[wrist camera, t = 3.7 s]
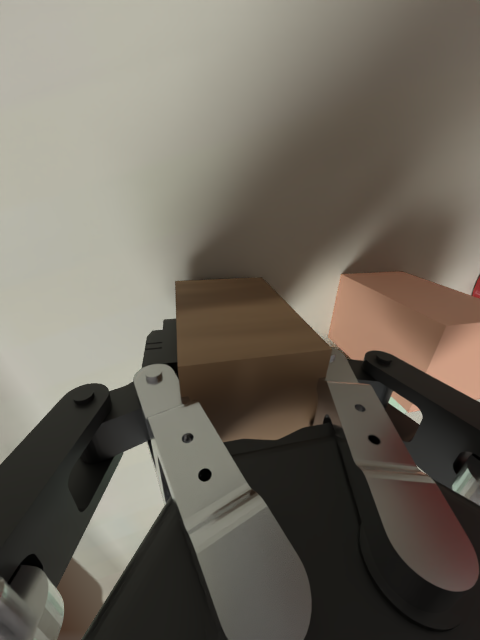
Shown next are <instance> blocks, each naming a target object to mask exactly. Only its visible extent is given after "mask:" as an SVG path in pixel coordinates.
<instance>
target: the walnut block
mask: <svg viewBox="0 0 480 640" xmlns="http://www.w3.org/2000/svg"><path fill="white" fill-rule="evenodd" d="M175 290H176V325H177V361H178V375H179V385H180V395H181V397H186V396H188V397H189V399H190V400H194V399H196V400H197V401H198V402H199V403H200V405H201V407H202V408H203V410H204V412H205V413H206V415H207V417H208V418H209V420H210V422H211V423H212V425H213V427H214V428H215V430H216V432H217V433H218V435H219V437H220V438H221V440H222V442H227V441H233V440H238V439H262V440H278V439H280V438H282V437H284V436H286V435H289V434H291V433H293V432H295V431H297V430H299V429H301V428H304V427H308V425H309V422H311V421H314V419H315V415H316V411H317V406H318V394H317V390H316V388H317V383H318V379H319V378H322V377H326V375H327V370H328V366H329V362H330V357H331V353H332V348H331V347H330V346H329V345H328V344H327V343H326V342H325V341H324V340H323V339H322V338H321V337H320V336H319V335H318V334H317V333H316V332H315V331H314V330H313V329H312V328H311V327H310V326H309V325H308V324H307V323H306V322H305V321H304V320H303V319H302V318H301V317H300V316H299V315H298V314H297V313H296V312H295V311H294V310H293V309H292V308H291V307H290V306H289V305H288V304H287V302H286V301H285V300H284V299H283V298H282V297H281V296H280V295H279V294H278V293H277V292H276V291H275V290H274V289H273V288H272V287H271V286H270V285H269V284H268V283H267V282H266V281H265V280H264V279H263V278H262V277H258V278H235V279H212V280H189V281H175Z"/></svg>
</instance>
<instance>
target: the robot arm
mask: <svg viewBox="0 0 480 640" xmlns="http://www.w3.org/2000/svg"><path fill="white" fill-rule="evenodd" d="M331 348H332V353H331V357H330V362H329V366H328V370H327V375H326V377H322V378H319V379H318V383H317V388H316V390H317V394H318V406H317V411H316V415H315V419H314V421H311V422H309V425H308V427H304V428H301V429H299V430H297V431H295V432H293V433H291V434H289V435H286V436H284V437H282V438H280V439H278V440H262V439H238V440H233V441H227V442H222V440H221V438H220V437H219V435H218V433H217V432H216V430H215V428H214V427H213V425H212V423H211V422H210V420H209V418H208V417H207V415H206V413H205V412H204V410H203V408H202V407H201V405H200V403H199V402H198V401H197V400H196V399H194V400H190V399H189V397H188V396H186V397H181V395H180V385H179V375H178V361H177V325H176V319H165V320H164V321H163V330H155V331H152V332H151V333H150V334H149V335H148V336H147V340H146V346H145V352H144V358H143V364H142V369H140V370H139V371H138V372H137V373H136V374H135V375H134V378H133V382H131V383H130V384H128V385H126V386H124V387H121V388H118V389H115V390H112V391H109V390H108V388H107V387H106V386H105V385H102V384H97V383H92V384H86V385H82V386H79V387H77V388H75V389H73V390H71V391H70V392H68V393H67V394H66V395H65V396H64V397H63V398H62V399H61V400H60V401H59V402H58V403H57V404H56V405H55V406H54V407H53V408H52V409H51V411H50V412H49V413H48V414H47V415H46V416H45V417H44V418H43V419H42V420H41V421H40V422H39V424H38V425H37V426H36V427H35V428H34V429H33V430H32V431H31V432H30V433H29V434H28V435H27V436H26V438H25V439H24V440H23V441H22V442H21V443H20V444H19V445H18V446H17V447H16V448H15V449H14V451H13V452H12V453H11V454H10V455H9V456H8V457H7V458H6V459H5V460H4V461H3V462H2V463H1V465H0V640H57V638H58V635H59V632H60V629H61V626H62V621H63V615H64V604H63V600H62V597H61V595H60V593H59V592H58V590H57V589H56V588H57V586H58V584H59V582H60V580H61V578H62V576H63V574H64V572H65V570H66V568H67V566H68V564H69V562H70V560H71V558H72V556H73V554H74V552H75V550H76V548H77V546H78V544H79V542H80V540H81V538H82V536H83V534H84V532H85V530H86V528H87V526H88V524H89V522H90V520H91V518H92V516H93V514H94V512H95V510H96V508H97V506H98V504H99V502H100V500H101V498H102V496H103V494H104V492H105V490H106V488H107V486H108V484H109V482H110V480H111V478H112V476H113V473H114V471H115V469H116V467H117V465H118V463H119V461H120V459H121V457H122V455H123V452H124V451H126V450H129V449H131V448H133V447H135V446H137V445H139V444H142V443H144V442H147V445H148V449H149V452H150V455H151V459H152V462H153V465H154V468H155V472H156V475H157V479H158V482H159V486H160V490H161V494H162V498H163V502H164V505H165V506H164V508H163V509H162V511H161V513H160V514H159V516H158V517H157V519H156V521H155V522H154V524H153V525H152V527H151V529H150V530H149V532H148V533H147V535H146V537H145V538H144V540H143V541H142V543H141V545H140V546H139V548H138V549H137V551H136V553H135V554H134V556H133V557H132V559H131V561H130V562H129V564H128V566H127V567H126V569H125V570H124V572H123V574H122V575H121V577H120V578H119V580H118V582H117V583H116V585H115V586H114V588H113V590H112V591H111V593H110V594H109V596H108V598H107V599H106V601H105V602H104V604H103V606H102V607H101V609H100V610H99V612H98V614H97V615H96V617H95V618H94V620H93V622H92V623H91V625H90V627H89V629H88V630H87V631H86V633H85V635H84V636H83V638H82V639H81V640H480V402H478V401H476V400H474V399H473V398H471V397H469V396H467V395H465V394H463V393H462V392H460V391H458V390H456V389H454V388H452V387H451V386H449V385H447V384H445V383H443V382H441V381H440V380H438V379H436V378H434V377H432V376H430V375H428V374H427V373H425V372H423V371H421V370H419V369H417V368H416V367H414V366H412V365H410V364H408V363H406V362H405V361H403V360H401V359H399V358H397V357H395V356H394V355H391V354H389V353H386V352H383V351H376V350H373V351H368V352H367V353H366V354H365V356H364V360H352V359H346V357H345V355H344V354H343V353H342V352H341V351H339V350H338V349H336V348H333V347H331ZM393 391H394V392H396V393H397V394H399V395H400V396H402V397H403V398H405V399H406V400H408V401H409V402H411V403H412V404H414V405H415V406H417V407H418V408H419V409H420V411H421V412H422V415H423V419H422V421H421V423H420V425H419V424H418V423H416V422H415V421H414V420H412V419H411V418H409V417H408V416H406V415H405V414H404V413H402V412H401V411H399V410H398V409H396V408H395V407H394V406H392V405H391V404H389V403H388V402H389V400H390V397H391V395H392V392H393ZM416 465H417V466H418V467H419V468H420V469H421V470H423V471H424V472H425V473H426V474H425V473H423V472H421V471H420V470H419V469H418V468H417V466H416ZM428 475H429V476H428Z"/></svg>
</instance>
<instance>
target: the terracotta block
mask: <svg viewBox="0 0 480 640" xmlns="http://www.w3.org/2000/svg"><path fill="white" fill-rule="evenodd" d="M328 338H330V339H331V340H332V341H333V342H334V343H335V344H336V345H337V346H338V347H339V348H340V349H341V350H342V351H343V352H344V353H345V354H347V355H348V356H349V357H350V358H351V359H352V360H364V356H365V354H366V353H367V352H368V351H373V350H376V351H383V352H386V353H389V354H391V355H394V356H395V357H397V358H399V359H401V360H403V361H405V362H406V363H408V364H410V365H412V366H414V367H416V368H417V369H419V370H421V371H423V372H425V373H427V374H428V375H430V376H432V377H434V378H436V379H438V380H440V381H441V382H443V383H445V384H447V385H449V386H451V387H452V388H454V389H456V390H458V391H460V392H462V393H463V394H465V395H467V396H469V397H471V398H473V399H474V400H477V399H480V299H479V298H476V297H474V296H471V295H468V294H465V293H462V292H459V291H456V290H454V289H451V288H448V287H445V286H442V285H439V284H436V283H434V282H431V281H428V280H425V279H422V278H419V277H417V276H414V275H411V274H408V273H405V272H402V271H398V272H376V273H353V274H341V277H340V282H339V286H338V291H337V296H336V301H335V305H334V310H333V315H332V320H331V325H330V329H329V334H328ZM391 397H392V398H393V399H394V400H396V401H397V402H398V403H399V404H400V405H401V406H402V407H403V408H404V409H405V410H406V411H407V412H408V413H409V412H414V411H419V410H420V409H419V408H418V407H417V406H415V405H414V404H412V403H411V402H409V401H408V400H406V399H405V398H403V397H402V396H400V395H399V394H397V393H396V392H394V391H393V392H392V395H391Z"/></svg>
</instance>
